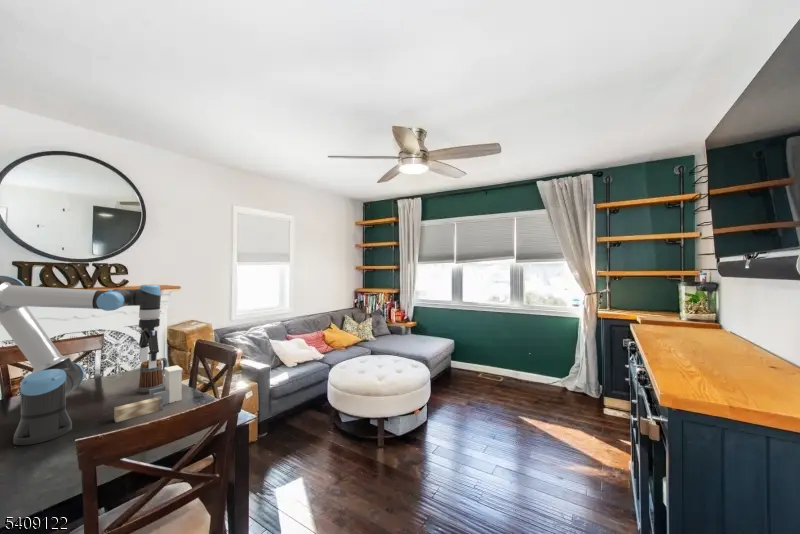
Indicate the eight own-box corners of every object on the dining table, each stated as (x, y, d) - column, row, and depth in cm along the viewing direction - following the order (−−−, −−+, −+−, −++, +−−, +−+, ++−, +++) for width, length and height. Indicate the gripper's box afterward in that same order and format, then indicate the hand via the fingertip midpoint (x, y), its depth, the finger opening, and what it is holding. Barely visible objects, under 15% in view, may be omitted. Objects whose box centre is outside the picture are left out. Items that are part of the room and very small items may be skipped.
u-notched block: (153, 407, 150) (154, 374, 149) (149, 402, 155) (149, 370, 155) (182, 399, 158) (182, 368, 158) (177, 395, 164) (177, 365, 164)
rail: (115, 422, 135) (115, 409, 135) (114, 419, 138) (114, 406, 138) (162, 409, 147) (162, 398, 147) (160, 407, 150) (160, 395, 150)
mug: (153, 394, 164) (153, 364, 164) (132, 394, 164) (132, 364, 164) (175, 383, 180) (175, 356, 180) (156, 382, 180) (156, 355, 180)
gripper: (168, 320, 145) (166, 368, 145) (151, 314, 161) (149, 357, 161) (147, 322, 139) (145, 372, 139) (131, 316, 155) (130, 360, 155)
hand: (147, 364), depth 150 cm, fingers open, 13 cm apart
